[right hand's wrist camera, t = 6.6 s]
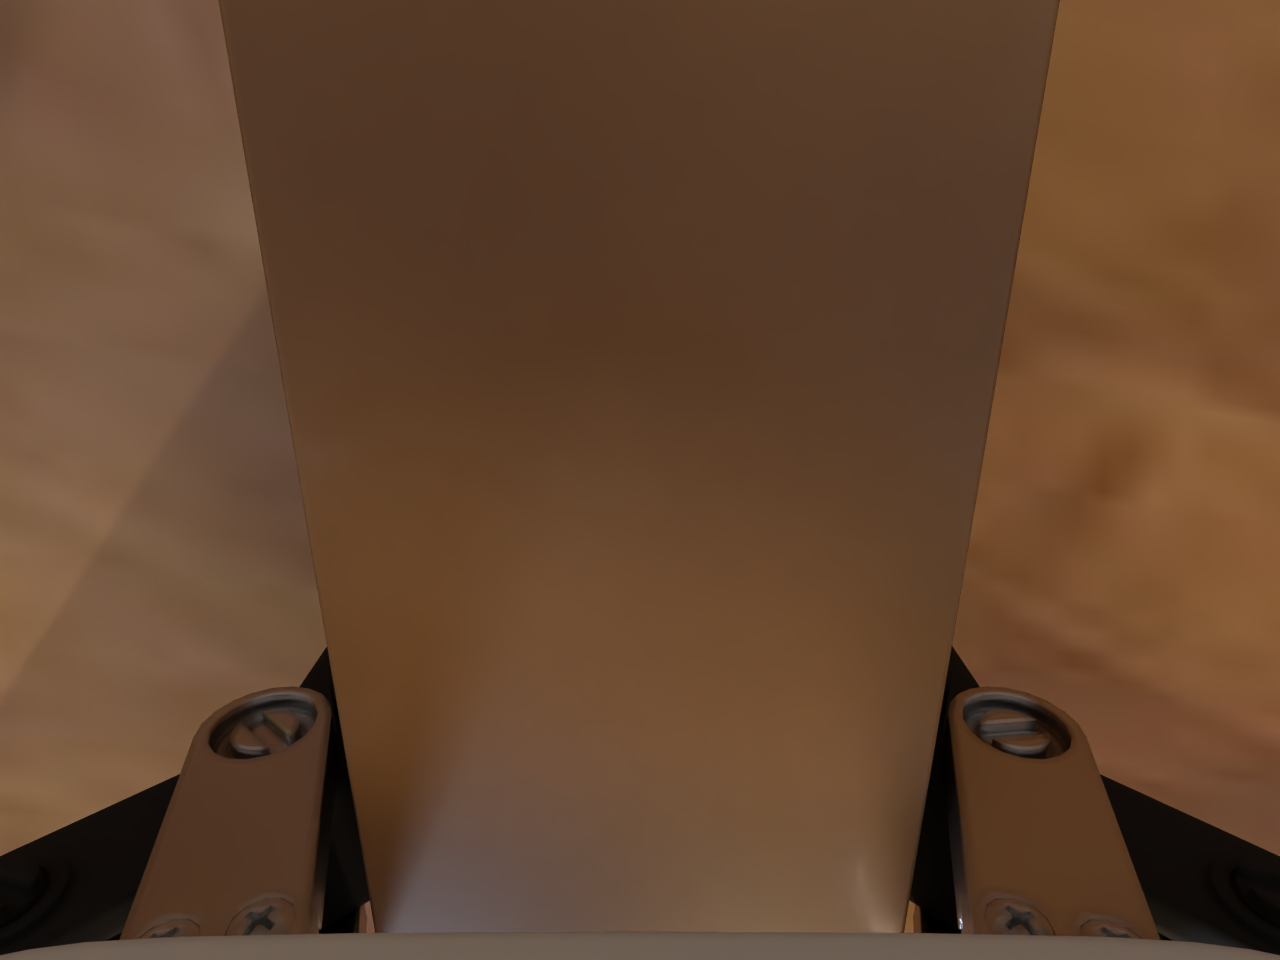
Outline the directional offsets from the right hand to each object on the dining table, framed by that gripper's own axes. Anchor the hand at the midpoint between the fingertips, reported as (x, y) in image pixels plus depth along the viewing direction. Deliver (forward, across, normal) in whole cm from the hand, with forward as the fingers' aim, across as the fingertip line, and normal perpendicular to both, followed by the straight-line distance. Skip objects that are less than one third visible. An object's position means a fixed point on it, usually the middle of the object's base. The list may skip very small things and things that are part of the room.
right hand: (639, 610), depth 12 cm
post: (+2, 0, -24) cm, 24 cm away
